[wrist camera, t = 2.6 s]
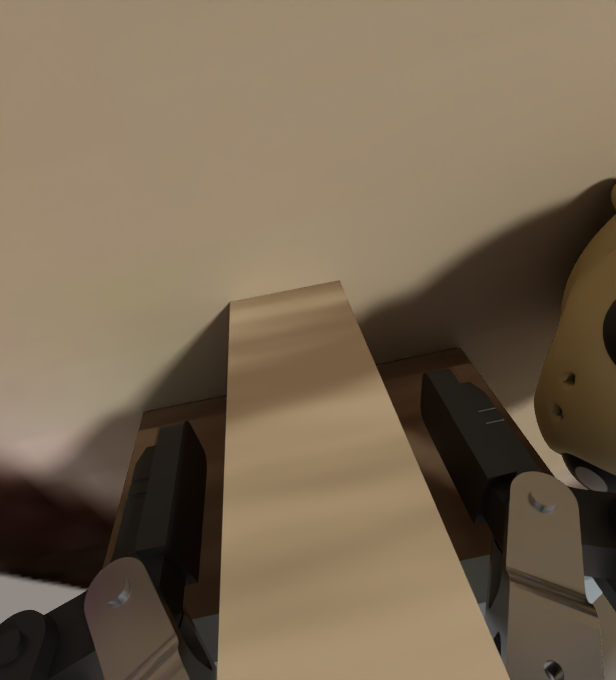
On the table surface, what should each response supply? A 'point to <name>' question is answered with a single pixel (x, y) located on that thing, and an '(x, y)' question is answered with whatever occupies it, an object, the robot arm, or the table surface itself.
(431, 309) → the table surface
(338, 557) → the tan tall block
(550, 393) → the tan toy creature
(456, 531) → the chest
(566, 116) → the table surface
